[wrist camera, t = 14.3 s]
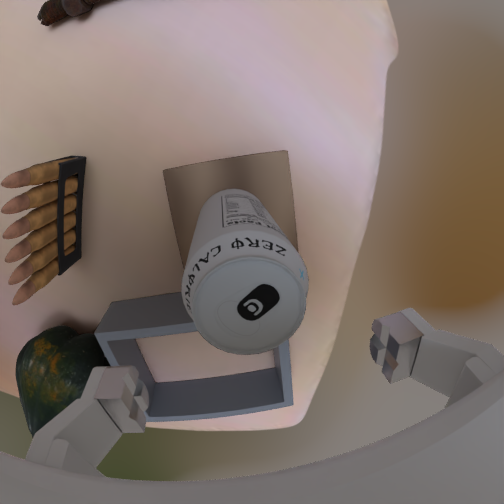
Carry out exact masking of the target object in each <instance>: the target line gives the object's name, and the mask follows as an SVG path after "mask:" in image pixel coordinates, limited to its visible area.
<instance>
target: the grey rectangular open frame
mask: <svg viewBox="0 0 504 504" xmlns="http://www.w3.org/2000/svg"><path fill="white" fill-rule="evenodd" d="M194 331H198V330H197V328H196V326H195V324H194V321H193V320H192V318H191V317H190V315H189V314H188V312H187V310H186V308H185V305H184V303H183V298H182V293H181V292H178V293H171V294H165V295H158V296H151V297H144V298H137V299H130V300H123V301H116V302H112V303H111V304H110V306H109V308H108V310H107V311H106V313H105V315H104V317H103V318H102V320H101V322H100V324H99V325H98V327H97V329H96V331H95V333H94V334H95V336H96V338H97V340H98V342H99V344H100V346H101V348H102V350H103V352H104V354H105V356H106V358H107V360H108V362H109V364H110V366H125V365H133V366H135V367H136V369H137V371H138V372H139V376H138V379H139V380H141V381H142V382H144V384H145V386H146V388H147V391H148V396H149V405H148V408H147V409H146V410H145V411H144V412H143V413H144V414H145V416H146V422H164V421H184V420H198V419H209V418H218V417H227V416H235V415H242V414H248V413H255V412H261V411H266V410H272V409H277V408H282V407H287V406H292V405H293V391H292V377H291V364H290V352H289V340H287V341H286V342H284V343H283V344H281V345H279V346H278V347H276V348H274V349H273V353H274V360H275V368H270V369H265V370H259V371H254V372H248V373H241V374H235V375H228V376H221V377H213V378H205V379H197V380H187V381H176V382H164V383H155V381H154V379H153V377H152V375H151V373H150V371H149V369H148V367H147V365H146V363H145V360H144V358H143V356H142V354H141V352H140V350H139V347H138V345H137V343H136V340H135V338H145V337H154V336H163V335H171V334H179V333H187V332H194Z"/></svg>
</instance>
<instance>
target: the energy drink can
mask: <svg viewBox="0 0 504 504" xmlns="http://www.w3.org/2000/svg"><path fill="white" fill-rule="evenodd" d="M308 281H309V279H308V274H307V269H306V266H305V264H304V262H303V259H302V258H301V256H300V255H299V253H298V252H297V251H296V249H295V248H294V246H293V245H292V244H291V242H290V241H289V240H288V238H287V237H286V235H285V234H284V233H283V231H282V230H281V229H280V227H279V226H278V224H277V223H276V222H275V220H274V219H273V218H272V216H271V215H270V214H269V212H268V211H267V210H266V208H265V207H264V206H263V204H262V203H261V202H260V200H259V199H258V198H257V197H255V196H254V195H253V194H251V193H249V192H247V191H244V190H241V189H226V190H222V191H219V192H218V193H216V194H214V195H212V196H211V197H210V198H209V199H208V200H207V201H206V202H205V203H204V205H203V207H202V209H201V211H200V214H199V217H198V221H197V225H196V228H195V232H194V235H193V239H192V243H191V247H190V250H189V254H188V258H187V262H186V266H185V270H184V274H183V278H182V289H181V293H182V298H183V303H184V305H185V308H186V310H187V312H188V314H189V315H190V317H191V318H192V320H193V321H194V324H195V326H196V328H197V330H198V331H199V333H200V334H201V335H202V337H203V338H204V339H205V340H206V341H208V342H209V343H210V344H211V345H213V346H215V347H216V348H218V349H220V350H223V351H225V352H228V353H233V354H240V355H251V354H259V353H262V352H266V351H269V350H271V349H274V348H276V347H278V346H279V345H281V344H283V343H284V342H286V341H287V340H288V339H289V338H290V337H291V336H292V335H293V334H294V333H295V331H296V330H297V329H298V328H299V326H300V324H301V322H302V320H303V317H304V314H305V310H306V297H307V293H308Z"/></svg>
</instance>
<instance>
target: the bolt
mask: <svg viewBox="0 0 504 504" xmlns="http://www.w3.org/2000/svg"><path fill="white" fill-rule="evenodd" d="M98 1H101V0H49V1H47V2H45V3H44V4H43V6H42V7H41V9H40V11H39V14H38V16H37V17H38V19H39V20H40V21H41V19H42V21H41V24H42V25H45V26H49V25H50V24H53V23H55V22H56V21H58V20H60V19H62V18H64V17H65V16H67V15H70V16H72V17H75V16H78V15H81V14H83V13H85V12H88V11H90V10H91V8H92V6H93V3H95V2H98Z"/></svg>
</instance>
